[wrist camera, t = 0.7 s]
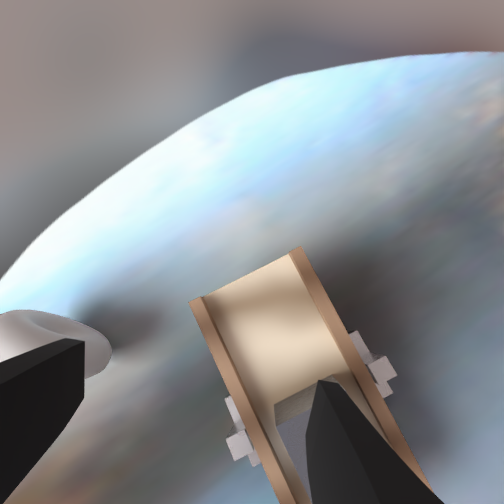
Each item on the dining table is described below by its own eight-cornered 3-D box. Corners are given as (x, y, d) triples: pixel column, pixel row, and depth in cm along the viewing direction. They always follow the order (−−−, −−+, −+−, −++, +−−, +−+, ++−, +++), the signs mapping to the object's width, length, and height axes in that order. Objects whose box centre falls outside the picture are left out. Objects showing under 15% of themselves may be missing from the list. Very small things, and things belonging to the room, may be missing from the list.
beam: (427, 493, 23) (449, 518, 20) (311, 556, 22) (317, 590, 20) (298, 250, 26) (302, 245, 23) (195, 302, 26) (187, 303, 23)
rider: (371, 451, 22) (394, 484, 18) (311, 483, 22) (321, 524, 18) (331, 374, 23) (345, 390, 19) (273, 404, 23) (275, 426, 19)
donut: (42, 338, 32) (-61, 340, 22) (59, 308, 33) (-34, 297, 23) (120, 378, 30) (45, 398, 20) (136, 345, 31) (70, 349, 21)
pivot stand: (390, 391, 27) (414, 403, 22) (253, 463, 27) (247, 492, 22) (355, 330, 29) (370, 329, 24) (226, 397, 29) (214, 410, 24)
